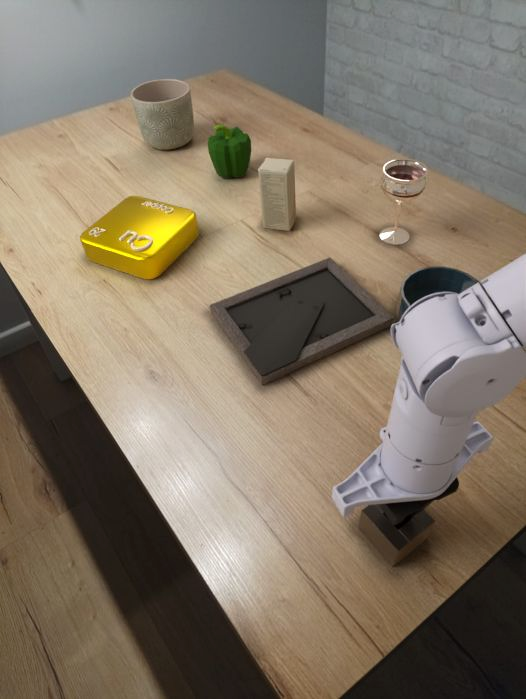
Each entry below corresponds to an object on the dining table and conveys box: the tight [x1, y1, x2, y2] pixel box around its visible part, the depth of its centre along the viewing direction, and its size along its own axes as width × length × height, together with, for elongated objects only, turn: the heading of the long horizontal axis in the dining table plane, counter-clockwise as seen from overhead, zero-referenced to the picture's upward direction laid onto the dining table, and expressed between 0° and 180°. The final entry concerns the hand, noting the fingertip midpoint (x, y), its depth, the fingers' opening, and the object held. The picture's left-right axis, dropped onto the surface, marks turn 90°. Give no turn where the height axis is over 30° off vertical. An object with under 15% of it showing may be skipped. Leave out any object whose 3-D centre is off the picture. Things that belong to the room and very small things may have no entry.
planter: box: [130, 78, 195, 151], centre depth 111 cm, size 12×12×11 cm
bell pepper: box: [206, 124, 252, 179], centre depth 100 cm, size 8×8×10 cm
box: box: [257, 157, 297, 232], centre depth 87 cm, size 5×4×11 cm
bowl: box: [395, 265, 487, 323], centre depth 72 cm, size 11×11×4 cm
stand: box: [357, 504, 436, 568], centre depth 51 cm, size 5×5×4 cm
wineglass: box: [379, 158, 429, 246], centre depth 83 cm, size 7×7×12 cm
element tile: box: [79, 195, 200, 280], centre depth 87 cm, size 15×15×5 cm
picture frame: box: [209, 257, 395, 386], centre depth 74 cm, size 16×2×21 cm
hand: (399, 511), depth 49 cm, fingers closed
